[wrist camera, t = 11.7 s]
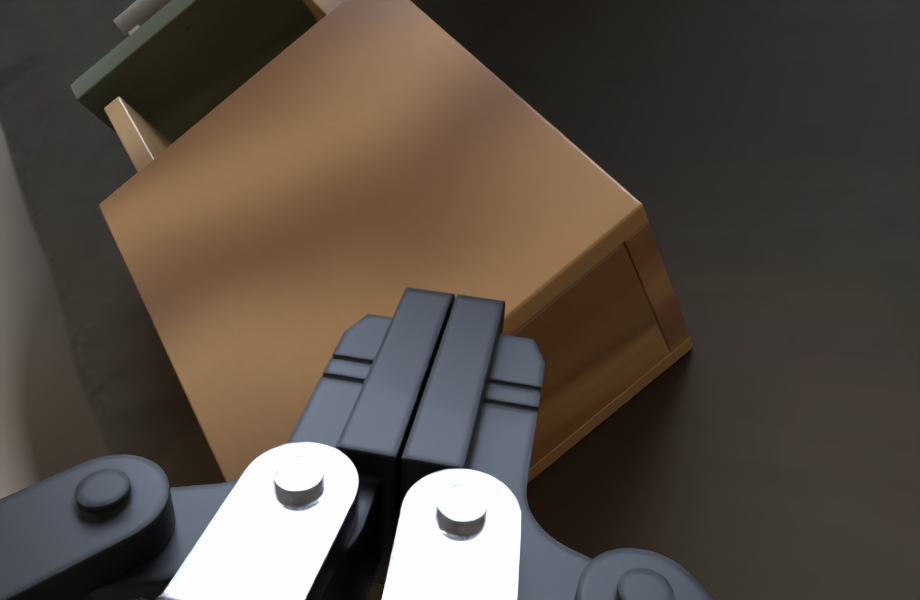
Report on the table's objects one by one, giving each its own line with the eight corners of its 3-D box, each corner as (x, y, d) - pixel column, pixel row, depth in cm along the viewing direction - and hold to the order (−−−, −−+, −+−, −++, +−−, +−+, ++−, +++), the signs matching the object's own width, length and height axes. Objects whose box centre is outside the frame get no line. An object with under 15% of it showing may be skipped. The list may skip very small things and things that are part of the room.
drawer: (143, 116, 42) (36, 20, 36) (306, -21, 42) (225, -138, 36) (284, 359, 31) (165, 277, 26) (504, 176, 31) (432, 54, 25)
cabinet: (248, 314, 34) (96, 204, 27) (471, 129, 34) (377, -30, 27) (404, 586, 26) (247, 531, 19) (694, 347, 26) (644, 204, 19)
